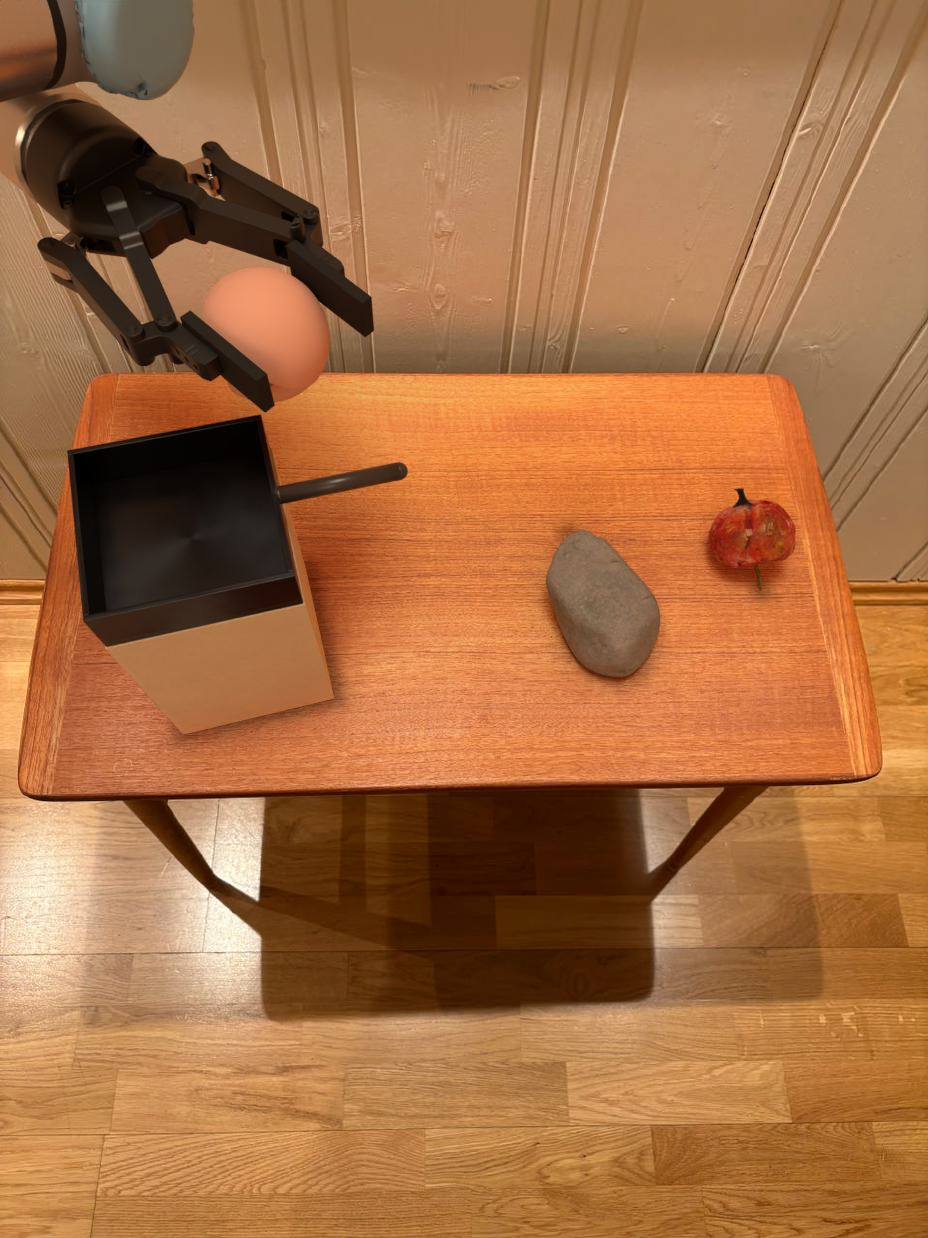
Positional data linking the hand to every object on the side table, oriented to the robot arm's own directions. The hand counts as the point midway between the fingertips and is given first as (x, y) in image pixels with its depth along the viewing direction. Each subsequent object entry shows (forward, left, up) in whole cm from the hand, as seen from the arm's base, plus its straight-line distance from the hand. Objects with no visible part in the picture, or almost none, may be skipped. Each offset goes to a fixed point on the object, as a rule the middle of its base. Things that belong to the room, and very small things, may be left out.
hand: (318, 354), depth 49 cm
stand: (-11, -3, -32) cm, 34 cm away
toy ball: (-3, +4, -6) cm, 8 cm away
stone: (+20, -7, -32) cm, 38 cm away
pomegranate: (+36, -5, -32) cm, 48 cm away
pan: (-6, -3, -13) cm, 14 cm away
